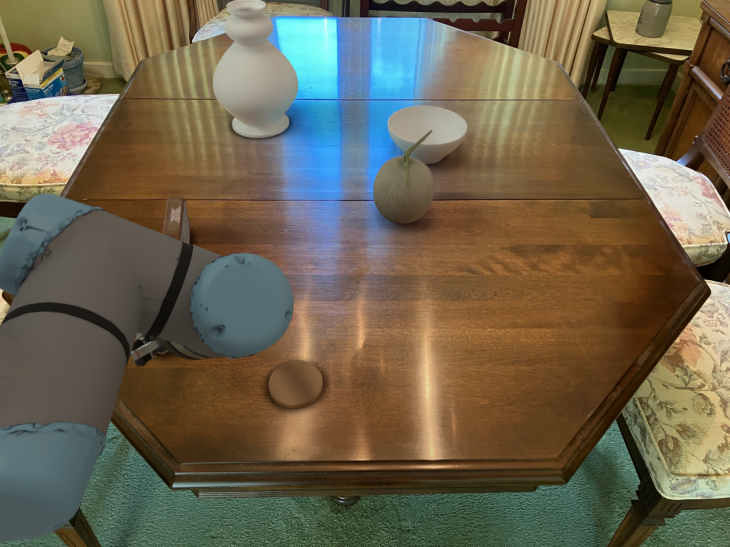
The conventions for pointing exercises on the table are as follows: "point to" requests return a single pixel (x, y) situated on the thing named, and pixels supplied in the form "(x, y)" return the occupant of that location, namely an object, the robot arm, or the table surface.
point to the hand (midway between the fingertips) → (163, 334)
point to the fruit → (403, 188)
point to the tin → (177, 220)
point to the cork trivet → (295, 384)
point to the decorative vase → (254, 74)
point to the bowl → (418, 122)
